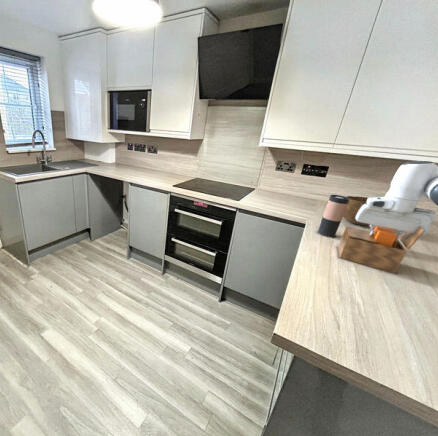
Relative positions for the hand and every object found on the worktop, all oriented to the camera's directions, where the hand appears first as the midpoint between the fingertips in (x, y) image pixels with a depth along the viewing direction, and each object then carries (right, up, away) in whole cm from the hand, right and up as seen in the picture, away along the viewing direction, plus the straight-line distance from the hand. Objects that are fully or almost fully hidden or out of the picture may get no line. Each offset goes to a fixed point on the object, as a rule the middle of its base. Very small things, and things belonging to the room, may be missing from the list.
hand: (382, 237), depth 93 cm
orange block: (0, -2, +1) cm, 2 cm away
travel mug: (-1, -1, +28) cm, 28 cm away
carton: (-3, -9, +5) cm, 11 cm away
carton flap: (+6, +2, -5) cm, 8 cm away
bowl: (+31, +4, +46) cm, 56 cm away
